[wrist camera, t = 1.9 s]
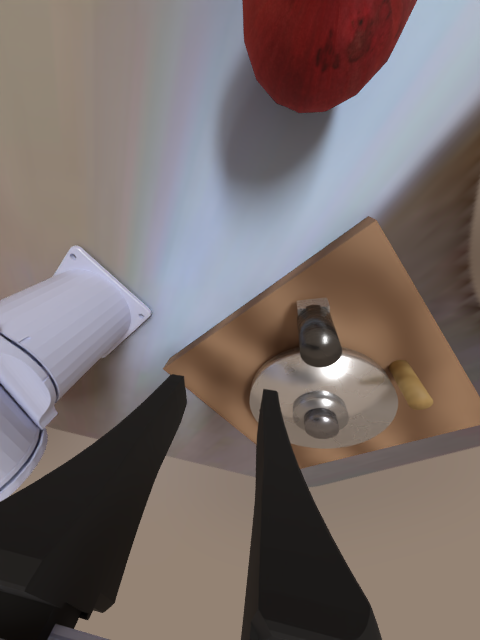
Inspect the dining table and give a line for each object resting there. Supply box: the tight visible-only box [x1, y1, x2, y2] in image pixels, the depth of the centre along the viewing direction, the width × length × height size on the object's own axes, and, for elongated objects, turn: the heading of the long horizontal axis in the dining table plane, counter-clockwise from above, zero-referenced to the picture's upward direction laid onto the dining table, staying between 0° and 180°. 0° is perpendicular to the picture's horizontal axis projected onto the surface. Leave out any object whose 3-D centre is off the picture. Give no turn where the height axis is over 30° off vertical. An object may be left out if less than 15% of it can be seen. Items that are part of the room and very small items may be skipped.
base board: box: [163, 216, 480, 469], centre depth 20 cm, size 21×21×5 cm
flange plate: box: [250, 298, 398, 449], centre depth 18 cm, size 16×12×4 cm
